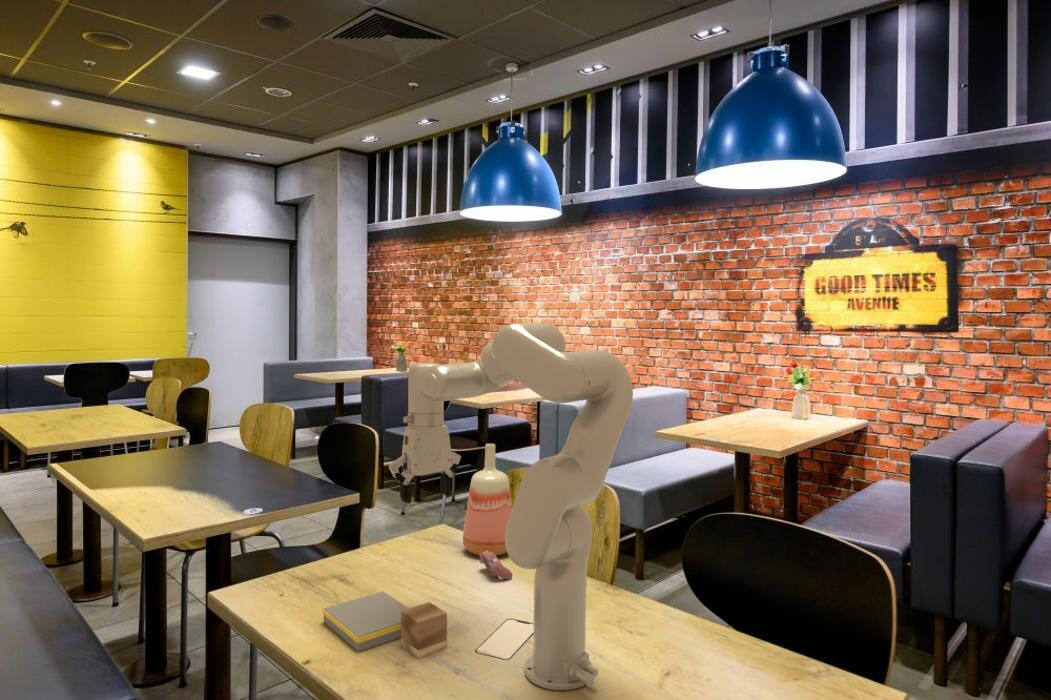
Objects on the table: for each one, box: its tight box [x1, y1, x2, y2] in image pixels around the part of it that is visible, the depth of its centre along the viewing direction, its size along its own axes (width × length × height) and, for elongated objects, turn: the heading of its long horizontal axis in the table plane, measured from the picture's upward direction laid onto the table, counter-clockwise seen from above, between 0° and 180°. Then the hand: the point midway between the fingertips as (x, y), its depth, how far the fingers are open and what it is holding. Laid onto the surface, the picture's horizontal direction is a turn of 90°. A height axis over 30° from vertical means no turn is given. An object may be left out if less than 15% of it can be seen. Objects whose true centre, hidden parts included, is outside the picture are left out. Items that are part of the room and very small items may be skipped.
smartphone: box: [474, 618, 534, 661], centre depth 138 cm, size 8×1×16 cm
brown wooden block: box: [400, 601, 448, 659], centre depth 134 cm, size 6×6×7 cm
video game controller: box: [478, 551, 513, 581], centre depth 171 cm, size 10×5×7 cm, turn 25°
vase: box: [462, 443, 513, 557], centre depth 186 cm, size 14×14×30 cm
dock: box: [322, 590, 409, 652], centre depth 142 cm, size 16×14×3 cm
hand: (426, 498), depth 148 cm, fingers open, 9 cm apart
